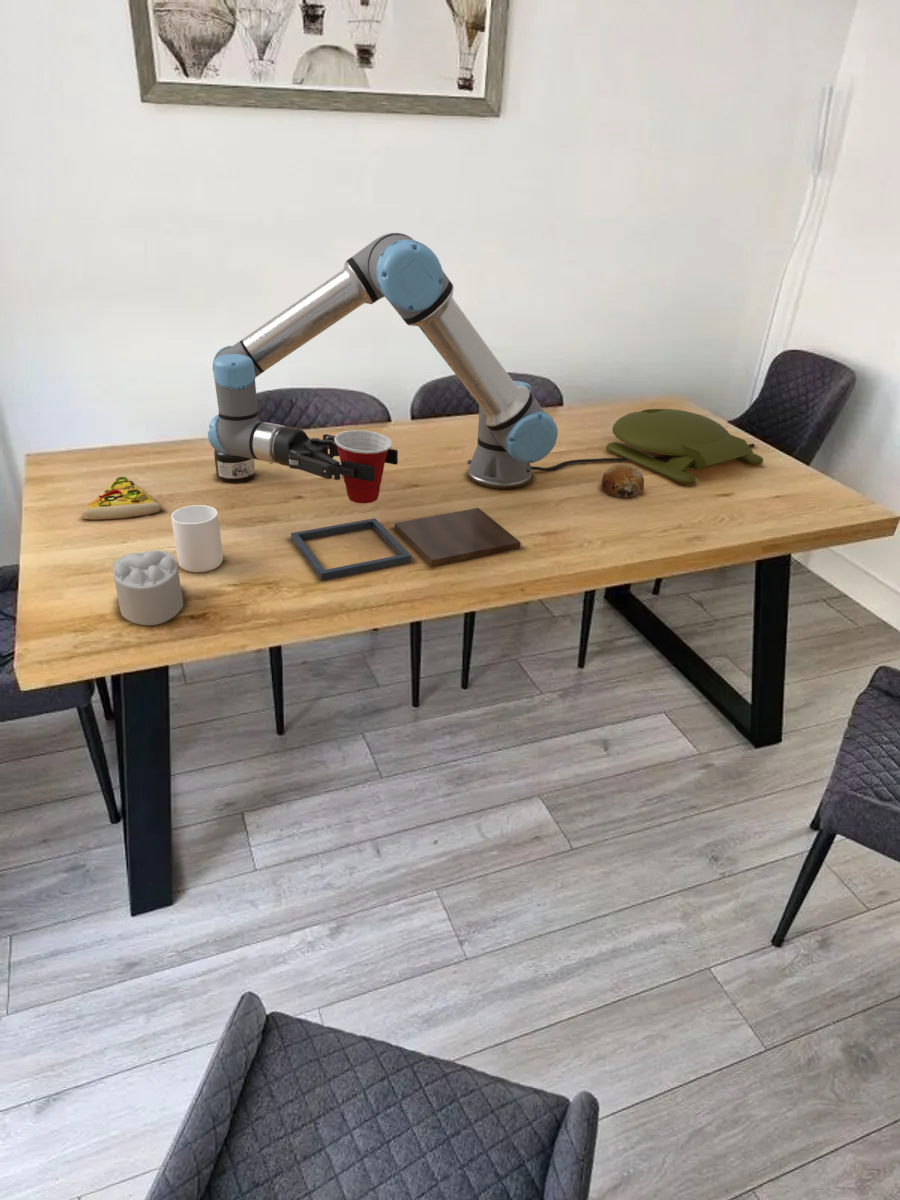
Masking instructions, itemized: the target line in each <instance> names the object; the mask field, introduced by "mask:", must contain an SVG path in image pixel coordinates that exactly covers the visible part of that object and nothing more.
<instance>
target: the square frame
mask: <svg viewBox="0 0 900 1200" xmlns="http://www.w3.org/2000/svg"><path fill="white" fill-rule="evenodd" d="M371 528H372V529H373V530H374V531H375V533H377V535H379V537H380V538H381V539H382V540H383V541H384V543H386V544H387V545H388V546H389V547H390V549H392V551H394V553H395V554H396V555H392V556H388V557H387V556H386V557H382V558H377V559H372V560H366V561H361V562H357V563H352V564H348V565H342V566H337V567H331V568H328V569H327V568H326V569H325V568H324V567H323V565H322V564H321V562H320V560H318V558H316V556H315V554H313V552H312V551H311V549H310V548H309V546H307V544H306V543H305V542H304V541H306V540H311V539H318V538H322V537H327V536H328V537H329V536H334V535H339V534H344V533H350V532H356V531H361V530H366V529H371ZM290 540H291V542H292V543H293V544H294V545H295V547H296V548H297V549H298V551H299V552H300V553H301V556H303V559H305V561H306V562H307V563H308V564H309V566H310V567H311V569H312V570H313V571H314V573H315V574H316V576H317V577H318V578H319V579H320V580H321V581H326V580H331V579H336V578H341V577H346V576H350V575H355V574H361V573H365V572H370V571H375V570H380V569H384V568H390V567H394V566H399V565H405V564H409V563H412V555H411V554H410V553H409V551H408V550H407V549H406V548H405V547H404V546H403V545H402V544H401V543H400V542H399V541H398V540H397V539H396V538H395V537H394V536H393V535H392V533H390V531H388V530H387V529H386V527H384V526H383V525H382V523H381V522H379V520H378V519H377V518H376V517H374V518H368V519H362V520H357V521H356V520H355V521H352V522H345V523H340V524H339V523H338V524H335V525H334V524H333V525H329V526H323V527H318V528H316V527H315V528H310V529H306V530H305V529H304V530H299V531H295V532H290Z"/></svg>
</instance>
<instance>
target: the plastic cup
mask: <svg viewBox="0 0 900 1200" xmlns="http://www.w3.org/2000/svg"><path fill="white" fill-rule="evenodd" d="M334 436H335V438H334V441H335V443H336V445H337V449H338V453H339V456H338V457H339V462H341V461H343V460H344V461H348V462H353V463H359V464H364V465H369V466H374V467H375V481H373V482H371V481H366V480H361V479H356V478H352V477H347V476H342V477H343V482H344V485H345V489H346V495H347V497H348V499H349V501H351V502H353V503H356V504H365V505H366V504H371V503H374V502H376V501H377V500H378V498H379V496H380V489H381V484H382V480H383V474H384V469H385V464H386V463H385V459H386V456H387V453H388V451H389V449H392V445H393V441H392V440H391V438H390V437H389V436H386V435H385V434H382V433H380V432H375V431H373V430H364V429H351V430H346V431H341V432H339V433H337V434H335V435H334Z"/></svg>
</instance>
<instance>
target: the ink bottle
mask: <svg viewBox="0 0 900 1200" xmlns="http://www.w3.org/2000/svg"><path fill="white" fill-rule="evenodd" d="M213 456H214V465H215V473H216V477H217V478H218V479H219V481H222V482H227V483H240V482H245V481H249V480H251V479H253V478H254V477H255V476H256V467H255V459H252V458H247V457H241V456H232V455H229V454H227V453H224V452H220V451H217V450H215V449H213Z"/></svg>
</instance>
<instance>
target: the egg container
mask: <svg viewBox="0 0 900 1200" xmlns="http://www.w3.org/2000/svg"><path fill="white" fill-rule="evenodd" d="M178 566H179V565H178V561H177V560H176V557H175V556H174V555H173V554H172V553H171V552H169V551H165V550H164V551H163V550H158V549H153V550H148V551H143V552H131V553H128V554H126V555H123V556H121V557H119V558H117V559H116V560H115V562H114V563H113V568H112V575H113V580H114V581H113V582H114V585H115V591H116V595H117V600H118V605H119V610H120V615H121V616H122V617H123V618H124V619H126V620H127V621H129V622H130V623H133V624H136V625H142V626H157V625H160V624H163V623H166V622H168V621H170V620H171V619H173V618H174V617H175V616H177V614H179V612H180V611H181V610H182V609H183V607H184V599H183V591H182V587H181V580H180V579H181V578H180V573H179V567H178Z"/></svg>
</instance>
